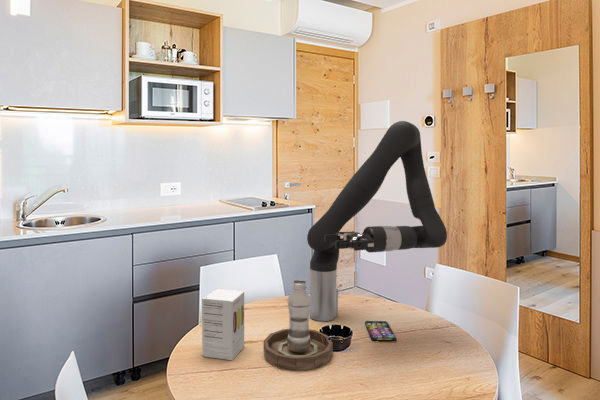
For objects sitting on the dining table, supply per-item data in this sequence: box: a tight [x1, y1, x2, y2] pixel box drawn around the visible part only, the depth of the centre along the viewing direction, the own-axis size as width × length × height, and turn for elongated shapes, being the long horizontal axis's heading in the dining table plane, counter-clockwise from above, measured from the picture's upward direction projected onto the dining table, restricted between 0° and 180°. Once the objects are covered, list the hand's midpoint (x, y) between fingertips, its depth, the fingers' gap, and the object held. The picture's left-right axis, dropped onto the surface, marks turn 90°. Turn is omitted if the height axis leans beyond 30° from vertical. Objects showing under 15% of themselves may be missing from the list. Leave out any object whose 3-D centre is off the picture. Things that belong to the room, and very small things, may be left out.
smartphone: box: [364, 320, 397, 342], centre depth 138 cm, size 8×1×15 cm
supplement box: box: [201, 288, 245, 361], centre depth 122 cm, size 10×9×17 cm
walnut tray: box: [263, 328, 334, 372], centre depth 122 cm, size 19×19×4 cm
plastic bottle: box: [287, 279, 311, 353], centre depth 121 cm, size 6×7×20 cm
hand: (330, 241), depth 121 cm, fingers open, 8 cm apart
